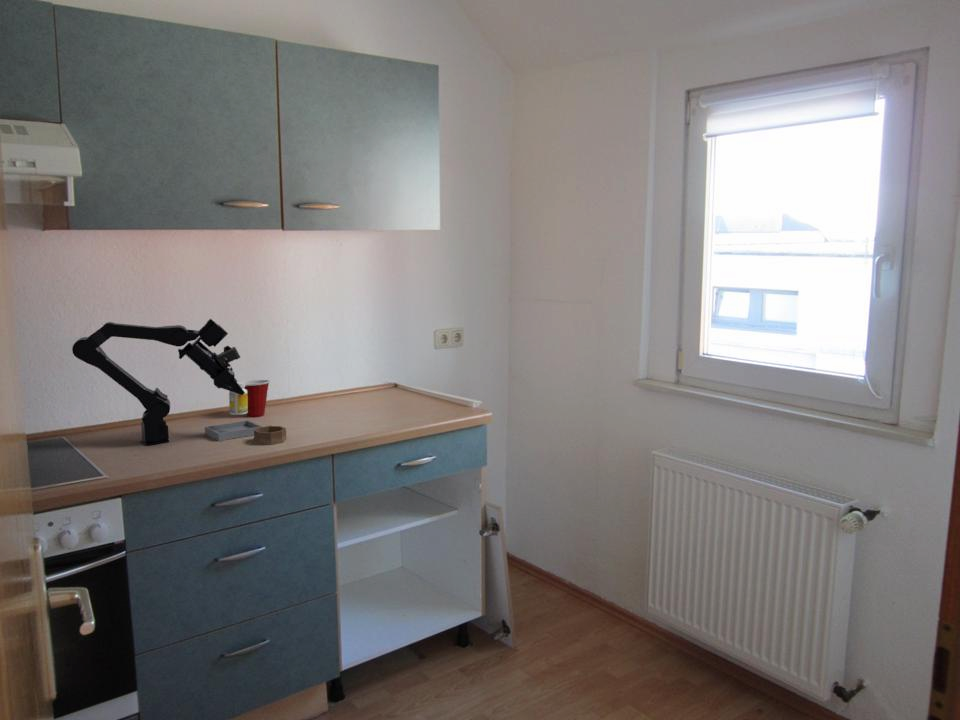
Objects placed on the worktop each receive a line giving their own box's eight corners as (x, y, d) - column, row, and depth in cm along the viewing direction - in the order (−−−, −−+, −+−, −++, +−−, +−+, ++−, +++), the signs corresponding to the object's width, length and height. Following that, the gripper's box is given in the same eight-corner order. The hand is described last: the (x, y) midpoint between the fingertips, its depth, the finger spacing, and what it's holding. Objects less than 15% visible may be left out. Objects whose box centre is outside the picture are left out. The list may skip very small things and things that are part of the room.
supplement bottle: (227, 415, 233) (226, 384, 232) (232, 411, 238) (231, 381, 237) (245, 415, 233) (244, 384, 232) (250, 411, 239) (249, 381, 237)
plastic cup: (255, 410, 271) (254, 377, 269) (278, 414, 265) (276, 380, 263) (231, 416, 261) (230, 382, 260) (254, 420, 256) (252, 385, 254)
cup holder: (263, 446, 224) (262, 434, 223) (250, 440, 230) (250, 429, 230) (290, 441, 230) (289, 429, 229) (277, 435, 236) (276, 424, 235)
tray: (219, 441, 229) (218, 433, 229) (205, 434, 238) (204, 426, 237) (262, 433, 238) (262, 426, 238) (247, 427, 247) (247, 420, 246)
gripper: (225, 342, 222) (264, 378, 228) (221, 335, 240) (258, 368, 245) (197, 370, 221) (237, 405, 226) (195, 360, 238) (233, 393, 244)
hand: (242, 392), depth 235 cm, fingers closed on supplement bottle, 5 cm apart
